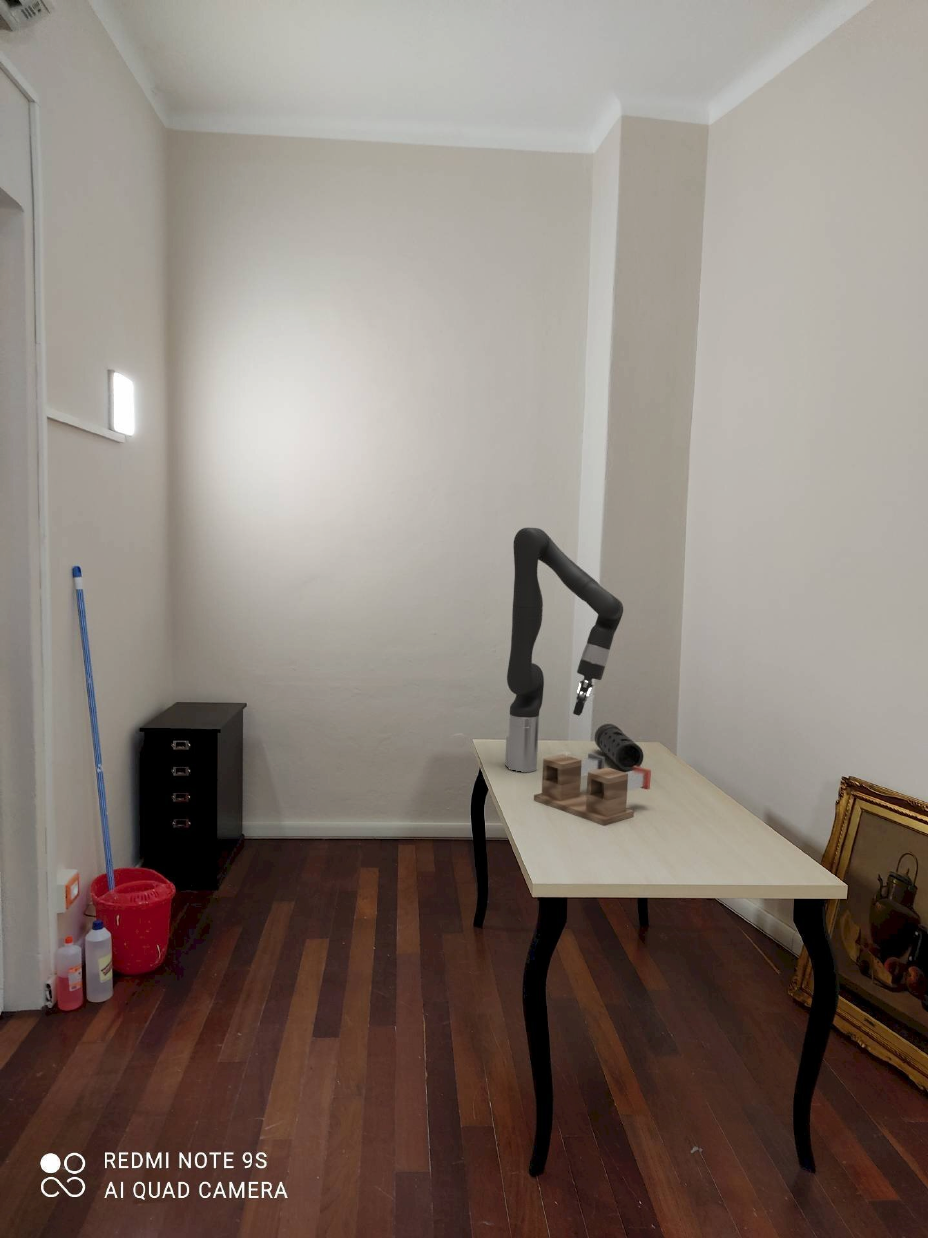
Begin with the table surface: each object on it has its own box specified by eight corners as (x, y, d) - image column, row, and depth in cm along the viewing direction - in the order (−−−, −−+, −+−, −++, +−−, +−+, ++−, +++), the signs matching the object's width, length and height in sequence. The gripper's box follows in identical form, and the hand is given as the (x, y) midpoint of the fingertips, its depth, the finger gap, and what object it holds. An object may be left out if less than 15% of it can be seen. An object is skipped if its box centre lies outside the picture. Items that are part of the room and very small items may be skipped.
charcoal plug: (554, 779, 236) (555, 761, 236) (590, 770, 246) (590, 753, 246) (568, 783, 232) (569, 765, 232) (603, 775, 242) (604, 757, 242)
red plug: (599, 793, 224) (600, 774, 224) (634, 784, 234) (635, 765, 234) (614, 798, 221) (615, 779, 220) (649, 788, 231) (651, 770, 230)
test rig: (533, 800, 234) (535, 758, 233) (562, 792, 242) (564, 752, 241) (604, 825, 216) (606, 780, 215) (633, 816, 224) (636, 773, 222)
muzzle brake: (613, 774, 264) (615, 742, 263) (592, 751, 291) (593, 722, 290) (643, 774, 264) (645, 742, 263) (619, 751, 292) (620, 722, 291)
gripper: (582, 657, 257) (566, 708, 257) (579, 657, 243) (563, 711, 243) (606, 665, 255) (590, 716, 255) (605, 665, 241) (588, 719, 241)
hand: (577, 714), depth 249 cm, fingers open, 8 cm apart
